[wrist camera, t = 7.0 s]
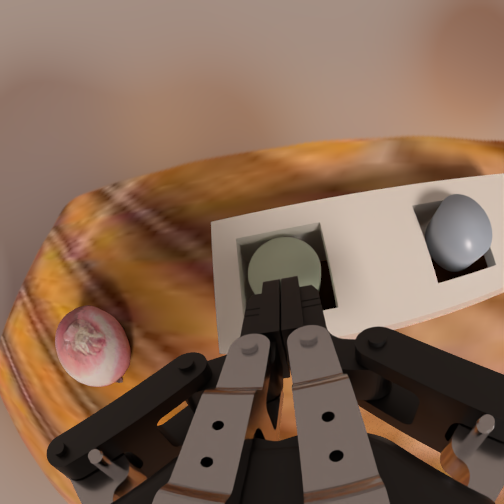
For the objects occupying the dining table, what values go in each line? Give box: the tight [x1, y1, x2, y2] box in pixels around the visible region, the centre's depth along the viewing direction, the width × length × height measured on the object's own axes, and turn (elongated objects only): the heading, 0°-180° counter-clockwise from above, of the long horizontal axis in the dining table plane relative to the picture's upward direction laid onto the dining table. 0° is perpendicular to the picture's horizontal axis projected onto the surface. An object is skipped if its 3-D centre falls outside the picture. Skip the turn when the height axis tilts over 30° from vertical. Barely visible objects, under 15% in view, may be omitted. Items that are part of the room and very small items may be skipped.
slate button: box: [425, 194, 492, 272], centre depth 13 cm, size 4×4×2 cm
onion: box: [55, 305, 131, 387], centre depth 21 cm, size 8×8×7 cm
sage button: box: [248, 237, 321, 294], centre depth 16 cm, size 4×4×2 cm
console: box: [211, 174, 504, 354], centre depth 17 cm, size 30×8×8 cm, turn 96°
